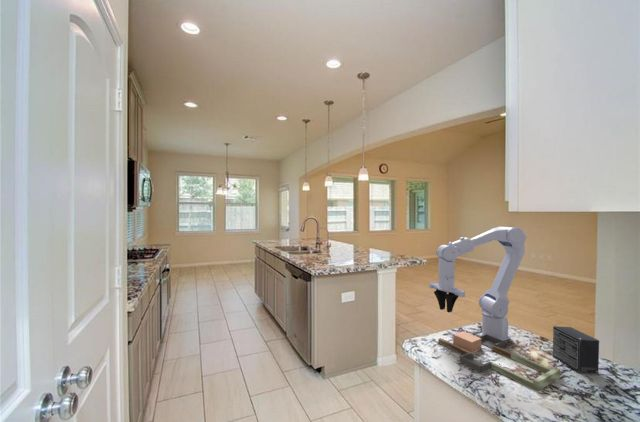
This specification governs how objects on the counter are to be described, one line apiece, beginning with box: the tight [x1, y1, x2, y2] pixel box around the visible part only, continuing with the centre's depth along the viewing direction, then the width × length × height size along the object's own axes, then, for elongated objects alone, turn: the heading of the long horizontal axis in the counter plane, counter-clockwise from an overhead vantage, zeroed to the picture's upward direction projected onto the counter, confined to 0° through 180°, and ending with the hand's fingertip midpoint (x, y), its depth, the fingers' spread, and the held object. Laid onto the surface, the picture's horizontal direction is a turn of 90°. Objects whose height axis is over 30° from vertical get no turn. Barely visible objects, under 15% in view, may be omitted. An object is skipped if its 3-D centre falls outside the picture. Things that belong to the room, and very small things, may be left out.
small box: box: [552, 325, 600, 375], centre depth 92 cm, size 11×6×10 cm, turn 179°
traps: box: [459, 334, 505, 374], centre depth 98 cm, size 25×13×2 cm, turn 119°
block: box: [452, 330, 482, 353], centre depth 103 cm, size 6×7×4 cm
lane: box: [438, 337, 561, 392], centre depth 95 cm, size 13×32×2 cm, turn 29°
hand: (445, 310), depth 111 cm, fingers open, 3 cm apart
